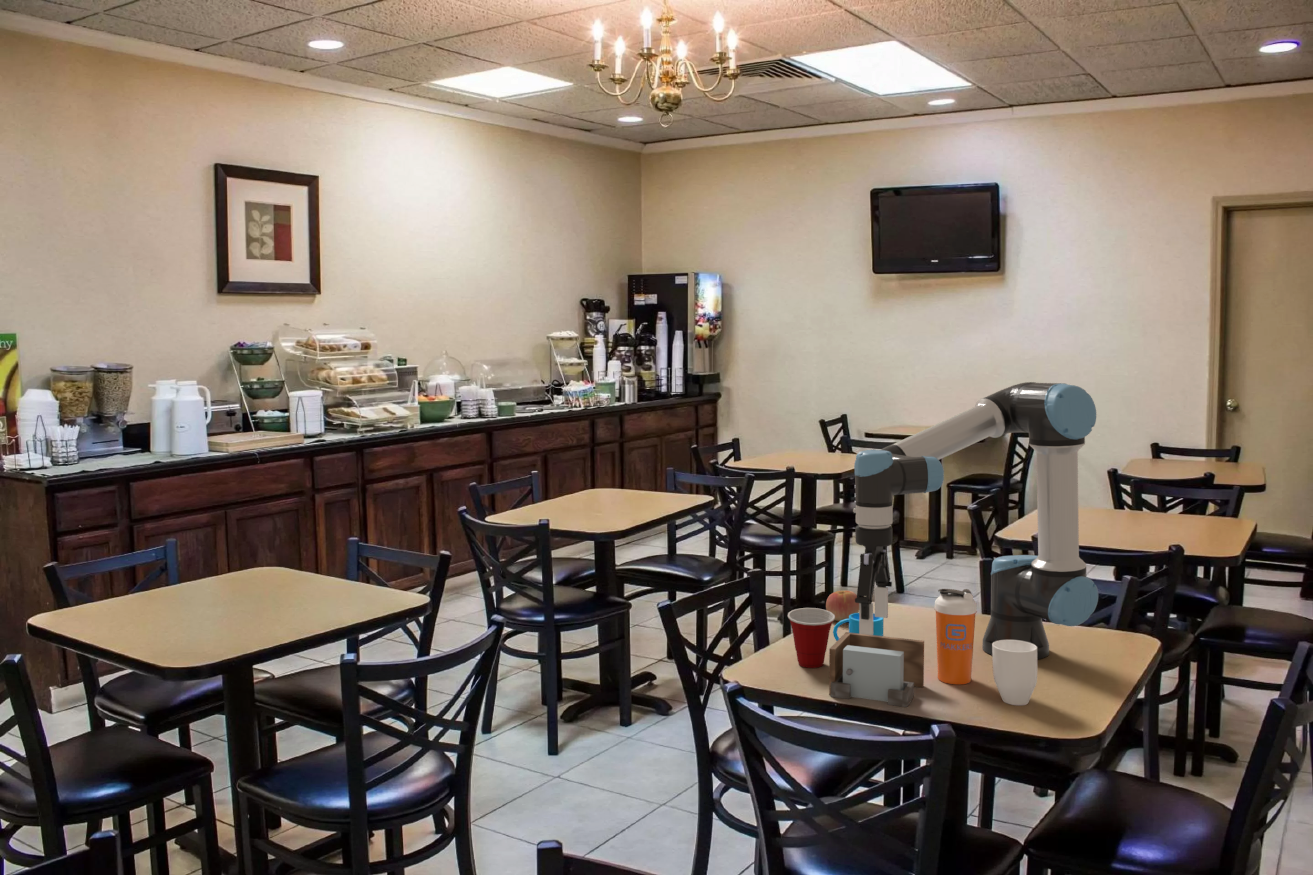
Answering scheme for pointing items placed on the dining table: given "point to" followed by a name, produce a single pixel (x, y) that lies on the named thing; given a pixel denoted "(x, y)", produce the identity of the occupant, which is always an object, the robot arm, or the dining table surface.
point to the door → (872, 671)
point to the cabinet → (908, 646)
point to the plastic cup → (811, 634)
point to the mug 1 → (854, 625)
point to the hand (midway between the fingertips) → (874, 625)
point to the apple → (842, 604)
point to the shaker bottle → (955, 635)
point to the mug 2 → (1014, 670)
